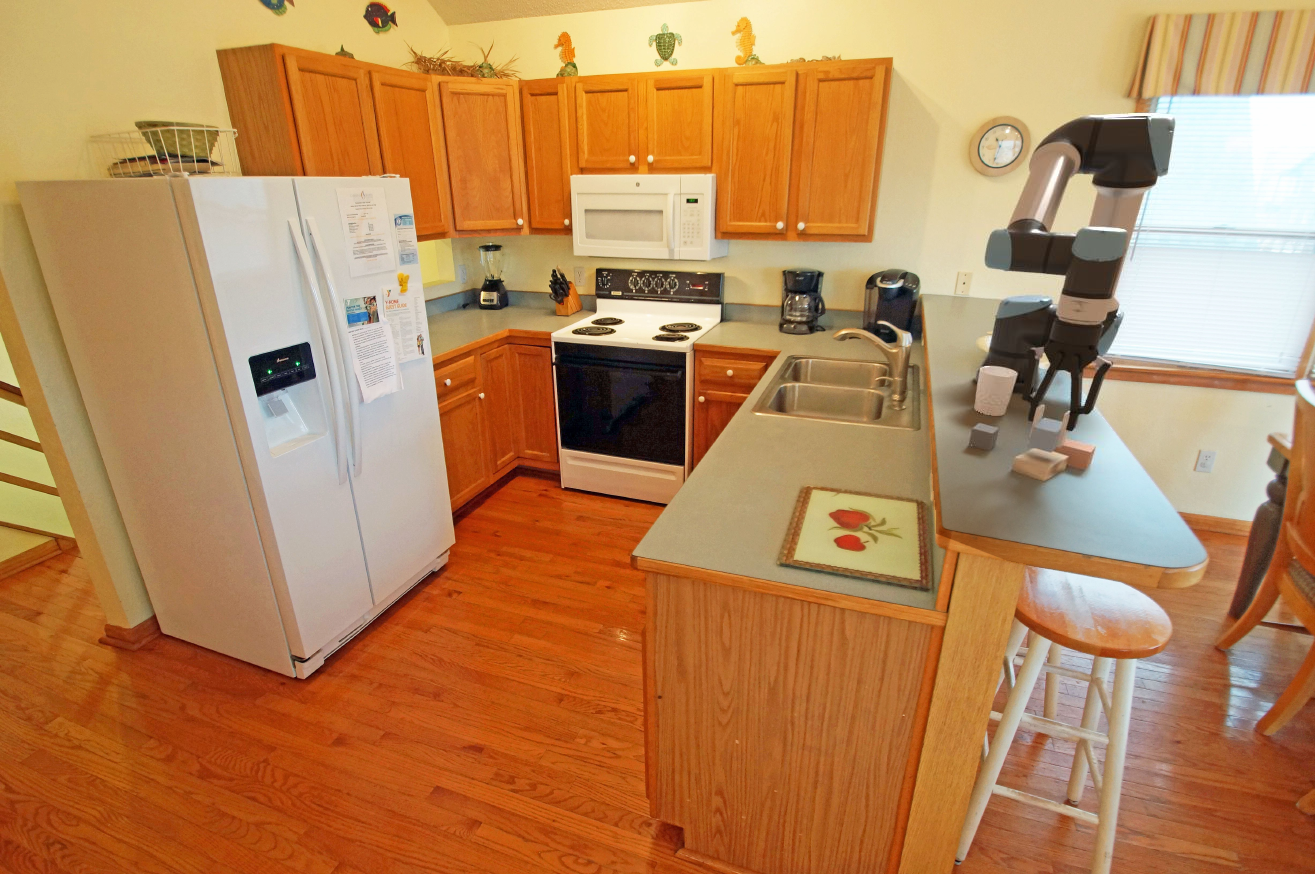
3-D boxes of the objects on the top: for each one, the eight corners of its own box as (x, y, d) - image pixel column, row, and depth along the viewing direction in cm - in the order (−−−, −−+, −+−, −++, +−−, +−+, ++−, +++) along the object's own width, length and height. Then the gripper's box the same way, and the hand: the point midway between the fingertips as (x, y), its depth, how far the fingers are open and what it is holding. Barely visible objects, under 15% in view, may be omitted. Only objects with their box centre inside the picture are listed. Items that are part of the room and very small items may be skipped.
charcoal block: (975, 440, 138) (979, 422, 136) (995, 445, 135) (999, 428, 134) (968, 445, 135) (972, 428, 134) (988, 451, 133) (992, 433, 131)
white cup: (1012, 418, 149) (1022, 377, 145) (975, 415, 151) (984, 375, 147) (1002, 406, 156) (1011, 367, 152) (967, 404, 158) (976, 365, 154)
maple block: (1033, 459, 130) (1036, 446, 129) (1064, 470, 125) (1068, 456, 124) (1011, 471, 125) (1014, 457, 124) (1043, 483, 120) (1047, 468, 119)
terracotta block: (1045, 459, 129) (1050, 441, 128) (1051, 453, 132) (1056, 436, 130) (1085, 471, 125) (1090, 452, 123) (1090, 464, 127) (1096, 446, 126)
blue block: (1038, 436, 126) (1044, 417, 124) (1061, 442, 124) (1067, 423, 122) (1027, 446, 121) (1033, 426, 120) (1051, 452, 119) (1057, 432, 117)
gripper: (1020, 315, 116) (992, 434, 125) (1132, 332, 105) (1092, 461, 115) (1033, 309, 121) (1005, 424, 130) (1141, 324, 110) (1102, 448, 120)
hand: (1046, 441), depth 122 cm, fingers closed on blue block, 4 cm apart
